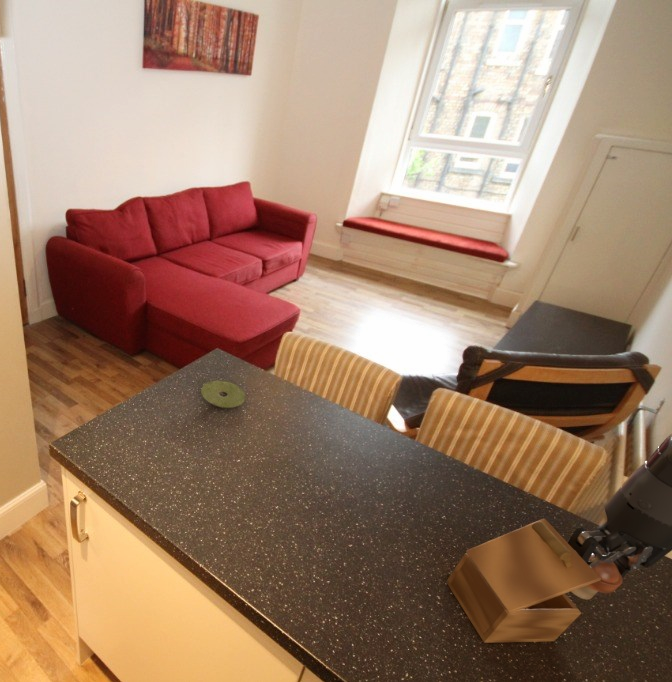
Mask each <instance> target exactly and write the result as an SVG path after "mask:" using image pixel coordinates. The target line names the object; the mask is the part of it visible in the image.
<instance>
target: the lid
mask: <svg viewBox="0 0 672 682" xmlns="http://www.w3.org/2000/svg"><path fill="white" fill-rule="evenodd" d="M465 552H466V553H465V554H468V555H469V557H470V558H471V560H472V561H473V562H474V564H475V565H476V567H477V568H478V570H479V571H480V572H481V574H482V575H483V577H484V578H485V579H486V581H487V582H488V584H489V585H490V586H491V588H492V589H493V591H494V592H495V593H496V595H497V596H498V598H499V599H500V601H501V602H502V603H503V605H504V606H505V608H506V609H507V610H508V612H509V613H513V612H516V611H519V610H521V609H524V608H527V607H529V606H532V605H535V604H538V603H540V602H543V601H546V600H548V599H551V598H554V597H557V596H559V595H562V594H567V593H571V591H573V590H576V589H578V588H581V587H584V586H586V585H589V584H592V583H595V582H597V581H600V580H601V578H600V577H599V576H598V575H597V574H596V573H595V572H594V570H593V569H592V568H591V567H590V566H589V565H588V564H587V563H586V562H585V561H584V560H583V559H582V558H581V557H580V556H579V555H578V554H577V552H576V551H575V550H574V549H573V548H572V547H571V546H570V545H569V544H568V541H566V540H565V538H564V537H563V536H562V535H561V534H560V533H559V532H558V531H557V530H556V529H555V528H554V527H553V526H552V525H551V524H550V522H549V521H548V520H547V519H546V518H542V519H539V520H536V521H534V522H532V523H529V524H527V525H524V526H523V527H520V528H517V529H514V530H513V531H510V532H508V533H505V534H502V535H501V536H497V537H496V538H493V539H491V540H488V541H486V542H484V543H482V544H481V543H480V544H479V545H476V546H474V547H472V548H469V549H467V550H465Z"/></svg>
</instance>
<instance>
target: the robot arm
mask: <svg viewBox="0 0 672 682" xmlns="http://www.w3.org/2000/svg"><path fill="white" fill-rule="evenodd" d="M604 512H605V515H606V521H605V522H603V523H602V524H601V525H599V526H598V527H596V529H595V530H587V529H586V528H585V527H584V526H578V527H576V528H575V529H574V531H573V533H572V534H571V536H570V538H569V539H568V541H567V543H568V544H569V545H570V546H571V547H572V548H573V549H574V550H575V551H576V552H577V554H578V555H579V556H580V557H581V558H582V559H583V560H584V561H585V562H586V563H587V564H588V565H589V566H590V567H591V568H592V569H593V568H595V567H596V566H598V565H599V564H601V563H606V564H609V563H611V562H614V564H615V565H616V566H617V568H618V571H619V573H620V574H621V576H622V579H623V578H624V577H625V576H626V575H627V574H629V572H630V571H636V570H637V569H639V568H640V567H641V566H642V567H644V568H645V569H647V568H651V567H653V565H655V564H656V563H657V562H659V561H660V560H661V559H663V558H664V557H665V556H667V555H668V554H669V553H670V552H672V433H671V434H669V435H668V436H667V437H666V438H665V439H664V440H663V441H662V442H661V443H660V445H659V446H658V447H657V448H656V449H655V450H654V452H652V454H651V455H650V456H649V457H648V459H647V460H646V461H645V462H644V463H643V464H642V465H640V466H639V467H638V468H636V469H635V470H634V471H633V472H632V473H631V474H630V475H629V477H628V478H627V479H626V480H625V481H624V482H623V483H622V485H621V486H620V487H619V488H618V489H617V491H615V493H614V494H613V495H612V496H611V497H610V499H609V500H608V501H607V502H606V503H605V505H604ZM600 548H601V549H602V550H603V551H604V552H605V553H606V554H604V553H603V552H602V551H601V550H600ZM592 553H593V554H594V556H595V557H594V558H593V559H592V560H589V558H590V557H591V555H592ZM650 553H651V554H650ZM649 554H650V555H649Z"/></svg>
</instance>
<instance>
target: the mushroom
mask: <svg viewBox="0 0 672 682" xmlns="http://www.w3.org/2000/svg"><path fill="white" fill-rule="evenodd" d="M594 557H595V556H594V554H593V553H592V555H591V557H590V558H589V560H592V559H593V558H594ZM593 570H594V572H595V573H596V574H597V575H598V576H599V577H600V578H601V580H600V581H597V582H595V583H592V584H589V585H586V586H584V587H581V588H578V589H576V590H573V591H570V593H572V594H573V595H575V596H577V597H578V598H580V599H583V600H591V599H592V598H593V597H594V596H596V595H597V594H598V593H603V594H612V593H614V592H615V591H616V590H617V589H618V588H619V587H620V586H621V585H622V584H623V578H622V576H621V574H620V573H619V571H618V568H617V566H616V565H615V564H614V562H611V563H609V564H606V563H601V564H599V565H598V566H596V567H595V568H593Z"/></svg>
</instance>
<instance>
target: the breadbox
mask: <svg viewBox="0 0 672 682" xmlns="http://www.w3.org/2000/svg"><path fill="white" fill-rule="evenodd" d="M445 583H446V584H447V587H448V588H449V589H450V591H451V592H452V594H453V596H454V597H455V599H456V601H457V602H458V604H459V605H460V607H461V609H462V610H463V611H464V613H465V615H466V616H467V618H468V620H469V621H470V623H471V624H472V626H473V628H474V629H475V631H476V632H477V634H478V635H479V637H480V639H481V640H482V643H485V644H487V643H489V644H491V643H493V644H494V643H495V644H496V643H533V642H535V643H539V642H555V641H556V640H557V639H558V638H559V637H560V636H561V635H562V634H563V633H564V632H565V631H566V630H567V629H568V627H570V626H571V624H573V622H574V621H576V619H578V617H579V616H581V614H582V612H581V611H580V609H578V607H577V605H576V604H575V603H574V602H573V601H572V600H571V599H570V598H569V596H568V595H567V593H565V594H562V595H559V596H557V597H554V598H551V599H548V600H546V601H543V602H540V603H538V604H535V605H532V606H529V607H527V608H524V609H521V610H519V611H516V612H513V613H509V612H508V610H507V609H506V608H505V606H504V605H503V603H502V602H501V601H500V599H499V598H498V596H497V595H496V593H495V592H494V591H493V589H492V588H491V586H490V585H489V584H488V582H487V581H486V579H485V578H484V577H483V575H482V574H481V572H480V571H479V570H478V568H477V567H476V565H475V564H474V562H473V561H472V560H471V558H470V557H469V555H468V554H467V553H464V554H463V556H462V558H461V559H460V561H459V562H458V563H457V564H456V567H455V568H454V570H453V571H452V572H451V574H450V575H449V576H448V578H447V580H446V581H445Z"/></svg>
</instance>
